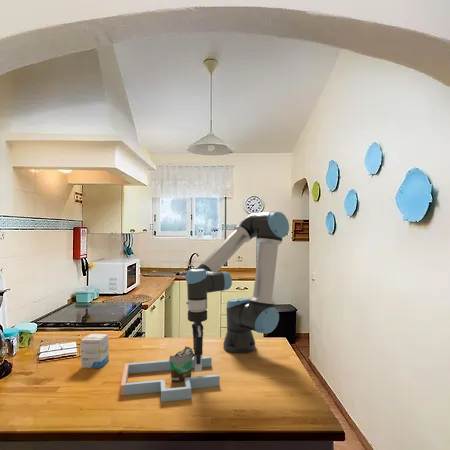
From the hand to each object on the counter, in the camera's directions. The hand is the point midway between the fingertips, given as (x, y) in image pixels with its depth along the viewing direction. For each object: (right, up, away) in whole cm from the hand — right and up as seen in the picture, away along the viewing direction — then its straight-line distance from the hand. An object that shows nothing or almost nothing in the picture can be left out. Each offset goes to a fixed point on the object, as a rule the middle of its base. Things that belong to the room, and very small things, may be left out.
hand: (198, 371), depth 139 cm
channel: (-10, -2, -6) cm, 11 cm away
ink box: (-44, -3, +14) cm, 47 cm away
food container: (-5, -2, -1) cm, 5 cm away
